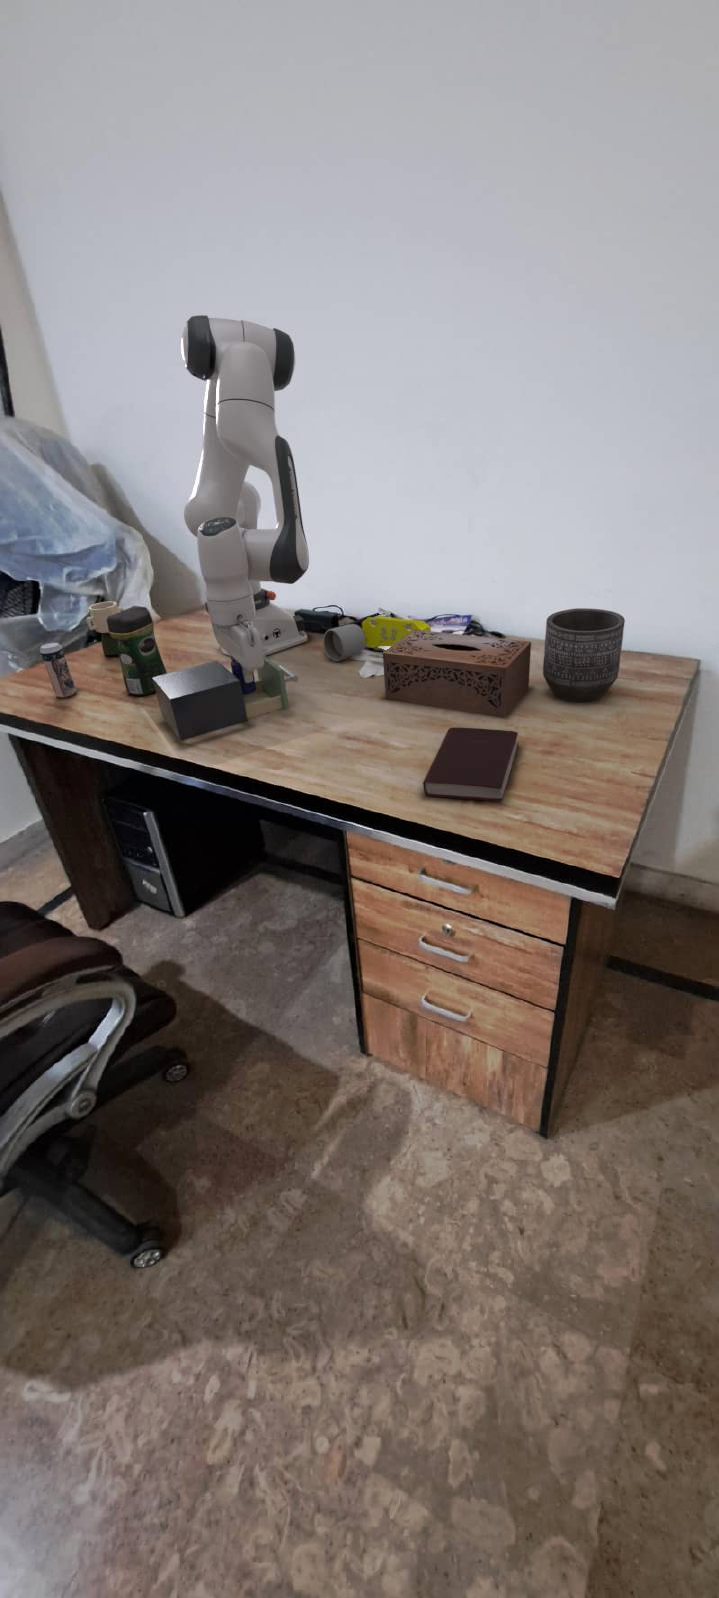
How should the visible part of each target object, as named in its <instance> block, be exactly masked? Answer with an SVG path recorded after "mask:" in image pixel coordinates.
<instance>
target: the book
mask: <svg viewBox="0 0 719 1598" xmlns="http://www.w3.org/2000/svg"><path fill="white" fill-rule="evenodd" d="M518 735H519V733H518V732H517V731H513V730H504V729H491V728H490V729H489V728H477V727H476V728H475V727H458V726H457V727H449V728H448V729H447V732H446V733H445V735H444V737H443V739H442V742H441V745H440V747H439V749H438V751H437V753H436V755H435V756H434V759H433V762H432V763H431V764H430V767H429V769H428V771H427V773H426V775H425V778H424V780H423V782H422V784H423V785H422V786H423V792H424V795H425V796H430V797H435V798H436V797H437V798H451V799H463V800H464V799H465V800H467V799H468V800H479V801H491V802H500V801H501V802H502V801H503V800H504V797H505V793H506V789H507V786H508V782H509V779H510V775H511V772H512V768H513V764H514V760H515V757H516V754H517V751H518V747H519V742H517V738H518Z"/></svg>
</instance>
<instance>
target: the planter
mask: <svg viewBox="0 0 719 1598" xmlns="http://www.w3.org/2000/svg"><path fill="white" fill-rule="evenodd" d="M625 620H626V619H625V618H624V616H623V615H622V614H620V613H618V612H615V611H613V610H612V611H611V610H606V609H602V608H601V609H600V608H599V609H598V608H587V607H585V608H584V607H583V608H581V607H579V608H569V609H564V610H560V611H557V612H553V613H551V614H550V615H549V616H548V617H547V618H546V623H545V634H544V635H545V637H544V652H543V653H544V654H543V661H542V662H543V664H542V676H543V677H544V680H545V682H546V683H547V686H548V687H549V689H550V691H551V692H552V693H553V696H555V697H556V698H558V699H560V700H562V701H565V702H570V703H590V702H594V701H597V700H600V699H601V698H602V697H603V696H604V695H605V694H606V693H607V691H609V690H610V688H611V687H612V686H613V685H614V683H615V682H616V680H617V679H618V676H619V671H620V666H621V665H620V664H621V653H622V647H623V640H624V639H623V638H624V631H625V622H626V621H625Z"/></svg>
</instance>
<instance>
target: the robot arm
mask: <svg viewBox="0 0 719 1598" xmlns="http://www.w3.org/2000/svg"><path fill="white" fill-rule="evenodd" d="M294 345H295V344H294V342H293V339H292V338H291V336H290V335H289V334H288V333H287V332H285V331H284V330H283V331H282V330H281V329H277V328H276V327H273V328H271V327H267V326H265V325H262V324H259V323H255V322H251V321H247V320H244V319H241V320H236V319H229V318H221V317H220V318H219V317H208V315H206V314H205V315H204V314H203V315H201V314H200V315H199V314H198V315H192V316H190V318H188V320H187V321H186V322H185V327H184V329H183V331H182V334H181V340H180V351H181V357H182V360H183V362H184V365H185V369H186V370H187V371H188V372H189V374H190V375H191V376H192V377H195V378H197V379H199V380H202V381H204V382H206V384H205V392H204V401H203V402H204V403H203V424H202V441H201V442H202V443H201V444H202V446H201V451H200V452H201V454H200V458H199V463H198V469H197V472H196V476H195V480H194V484H193V488H192V491H191V493H190V497H189V498H188V500H187V502H186V504H185V505H184V509H183V516H184V517H183V518H184V523H185V525H186V528H187V529H188V530H189V532H190V533H191V534H192V535H193V536H194V537H195V538H196V539H197V554H198V562H199V568H200V572H201V576H202V578H203V580H204V583H205V588H206V589H205V598H206V601H204V609H205V611H206V613H207V614H208V616H209V620H210V623H211V627H212V631H213V634H214V638H215V640H216V642H217V644H218V645H219V646H220V647H221V650H220V651H221V653H222V654H224V655H226V656H229V659H230V662H231V661H232V660H234V659H235V660H236V661H238V662H239V663H240V664H241V667H242V670H243V673H242V677H243V680H244V681H245V682H246V683H249V682H252V681H253V674H252V673H254V671H257V669H259V668H262V667H263V666H264V657H263V655H264V656H265V657H267V656H268V655H272V654H275V653H278V652H281V651H283V650H286V649H289V648H293V647H295V646H297V645H301V644H304V643H307V642H308V634H307V633H306V632H305V631H306V625H307V624H308V625H309V624H310V625H311V624H312V625H316V626H317V627H319V629H320V630H322V631H327V630H329V629H333V628H337V627H341V626H345V625H349V624H355V625H359V624H360V623H362V622H363V621H364V620H366V619H367V618H368V617H373V618H377V617H379V616H381V615H386V614H385V613H383V614H379V613H378V612H375V613H373V614H370V615H367V616H364V617H361V618H359V619H358V620H355V621H352V622H349V623H346V624H342V625H339V626H334V627H327V626H326V627H325V626H323V625H322V624H321V622H318V621H315V620H305V619H304V618H303V617H302V616H301V615H299V614H296V615H292V614H291V613H290V612H288V611H286V610H285V609H284V608H281V607H279V606H278V605H276V604H274V603H273V602H271V601H275V600H276V599H277V594H276V593H275V591H272V590H268V589H265V588H262V585H261V582H274V583H280V584H287V585H288V584H289V585H293V584H295V583H296V582H297V581H299V580H300V579H301V578H302V577H303V576H304V575H305V573H306V572H307V571H308V569H309V563H310V554H309V548H308V542H307V538H306V534H305V529H304V523H303V517H302V509H301V502H300V501H301V500H300V493H299V486H298V480H297V478H298V477H297V472H296V465H295V461H294V455H293V452H292V449H291V446H290V444H289V442H288V441H287V439H286V438H284V437H282V436H281V435H280V433H279V431H278V427H277V422H276V395H275V393H276V392H278V391H282V390H284V389H285V388H287V387H288V386H289V385H290V383H291V382H292V378H293V375H294V373H295V369H296V352H295V346H294ZM250 467H254V468H257V469H259V470H260V471H263V472H265V474H267V475H268V477H269V480H270V482H271V486H272V493H273V500H274V501H273V502H274V506H275V507H274V508H275V515H276V524H275V525H276V526H275V527H274V528H258V519H259V514H260V511H261V508H262V500H261V496H260V493H259V491H258V490H257V489H256V487H255V486H254V485H253V484H252V483H250V482H248V481H246V480H245V479H246V476H247V472H248V470H249V468H250ZM389 616H391V617H394V616H395V614H394V613H393V612H391V614H390V615H389Z"/></svg>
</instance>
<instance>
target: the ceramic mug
mask: <svg viewBox="0 0 719 1598" xmlns="http://www.w3.org/2000/svg"><path fill="white" fill-rule="evenodd" d="M344 625H345V624H344ZM340 626H341V627H338V626H336V627H337V628H333V627H332V628H333V629H329V630H325V633H324V636H323V640H322V641H323V649H324V652H325V653H326V655H327V656H328V658H329V659H330V660H331V661H334V662H340V661H343V660H346V659H348V658H351V657H354V656H356V655H358V654H360V653H362V652H363V651H364V650H365V648H366V647H365V646H366V636H365V633H364V631H363V629H362V627H361V626H360V625H359V624H349V625H345V626H342V625H340Z"/></svg>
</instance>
